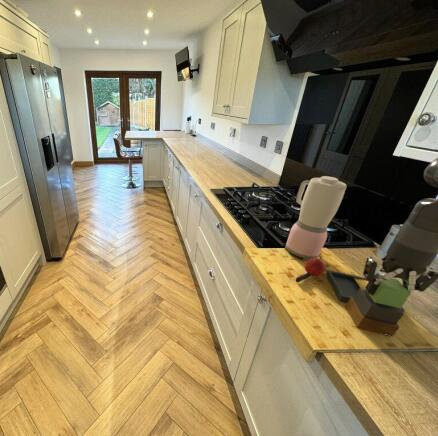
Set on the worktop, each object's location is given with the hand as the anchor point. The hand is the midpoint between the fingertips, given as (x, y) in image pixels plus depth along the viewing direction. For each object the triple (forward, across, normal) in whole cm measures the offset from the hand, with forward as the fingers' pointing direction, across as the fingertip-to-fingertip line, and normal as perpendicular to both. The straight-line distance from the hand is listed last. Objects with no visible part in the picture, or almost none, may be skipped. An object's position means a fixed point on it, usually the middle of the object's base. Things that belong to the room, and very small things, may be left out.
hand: (383, 295), depth 63 cm
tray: (+10, +3, +13) cm, 16 cm away
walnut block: (+9, 0, 0) cm, 9 cm away
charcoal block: (+5, 0, 0) cm, 5 cm away
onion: (+10, -10, +17) cm, 22 cm away
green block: (+1, 0, 0) cm, 1 cm away
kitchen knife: (+8, -10, +17) cm, 21 cm away
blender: (+10, -11, +34) cm, 37 cm away
